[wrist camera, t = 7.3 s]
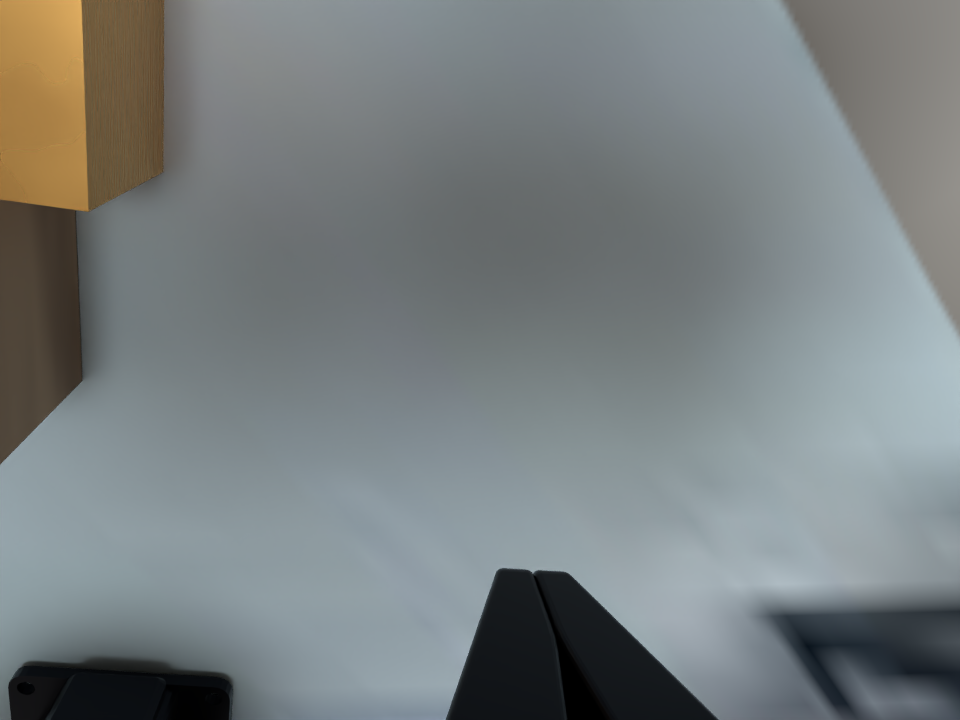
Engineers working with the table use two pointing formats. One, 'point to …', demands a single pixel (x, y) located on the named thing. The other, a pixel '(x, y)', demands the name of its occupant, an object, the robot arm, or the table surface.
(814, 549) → the table surface
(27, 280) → the walnut block
